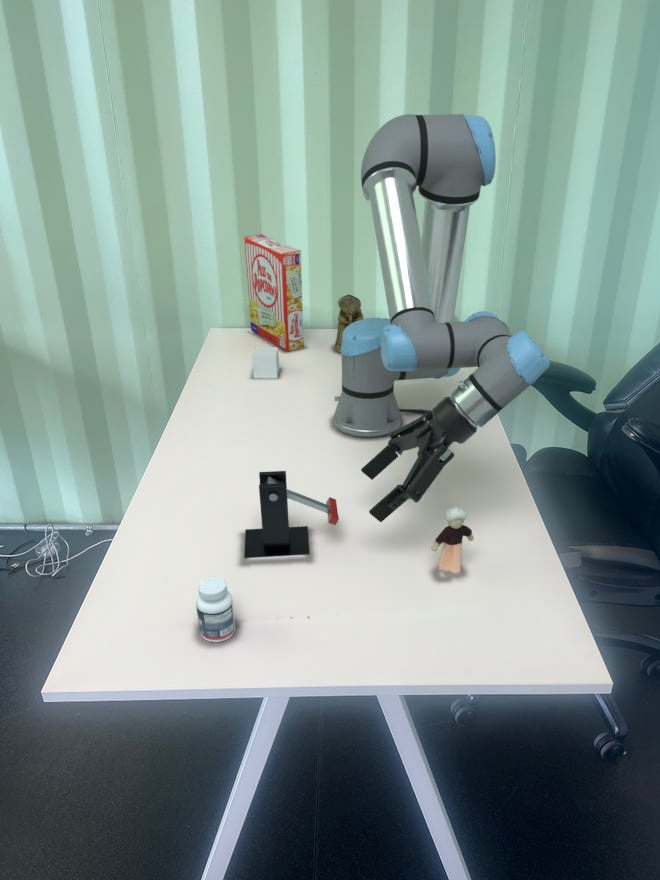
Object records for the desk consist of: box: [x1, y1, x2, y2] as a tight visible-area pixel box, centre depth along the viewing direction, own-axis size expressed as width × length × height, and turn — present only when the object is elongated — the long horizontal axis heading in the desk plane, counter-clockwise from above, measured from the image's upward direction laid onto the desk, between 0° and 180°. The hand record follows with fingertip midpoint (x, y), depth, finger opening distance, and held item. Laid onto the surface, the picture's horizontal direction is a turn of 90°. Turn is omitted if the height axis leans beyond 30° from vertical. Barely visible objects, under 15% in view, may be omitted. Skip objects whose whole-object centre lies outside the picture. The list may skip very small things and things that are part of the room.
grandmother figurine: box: [430, 506, 475, 574], centre depth 124 cm, size 8×4×13 cm, turn 126°
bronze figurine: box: [334, 294, 364, 354], centre depth 206 cm, size 9×14×18 cm, turn 179°
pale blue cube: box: [251, 346, 280, 379], centre depth 195 cm, size 6×6×6 cm
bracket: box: [243, 470, 311, 559], centre depth 128 cm, size 11×8×14 cm
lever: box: [265, 477, 339, 526], centre depth 127 cm, size 13×6×2 cm, turn 98°
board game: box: [243, 233, 305, 353], centre depth 210 cm, size 20×6×27 cm, turn 37°
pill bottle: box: [195, 576, 237, 643], centre depth 111 cm, size 5×5×9 cm
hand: (370, 494), depth 129 cm, fingers open, 13 cm apart
